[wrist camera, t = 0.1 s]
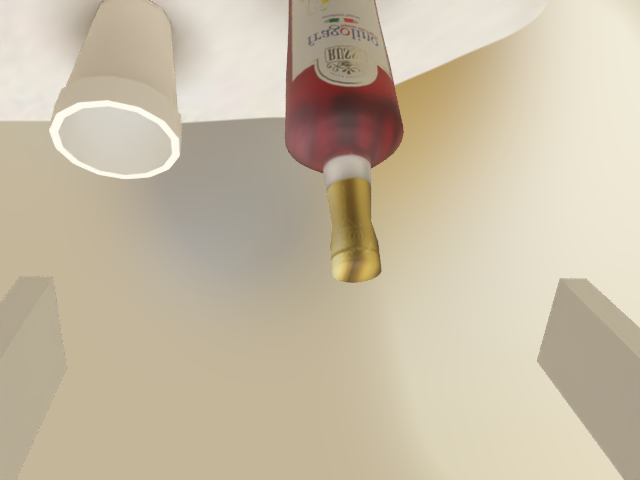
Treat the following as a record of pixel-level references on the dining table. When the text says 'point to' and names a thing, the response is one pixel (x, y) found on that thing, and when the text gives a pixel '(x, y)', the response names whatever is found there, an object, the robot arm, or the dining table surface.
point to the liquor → (342, 118)
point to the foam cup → (121, 95)
